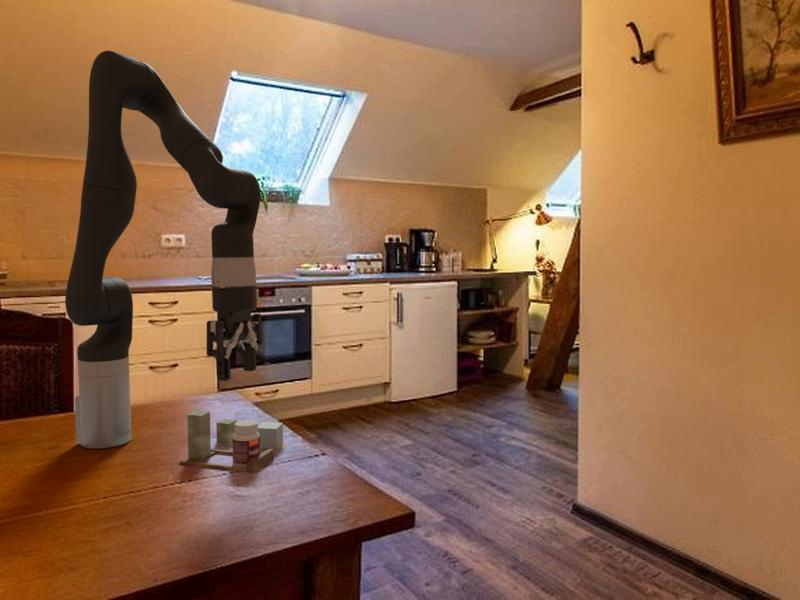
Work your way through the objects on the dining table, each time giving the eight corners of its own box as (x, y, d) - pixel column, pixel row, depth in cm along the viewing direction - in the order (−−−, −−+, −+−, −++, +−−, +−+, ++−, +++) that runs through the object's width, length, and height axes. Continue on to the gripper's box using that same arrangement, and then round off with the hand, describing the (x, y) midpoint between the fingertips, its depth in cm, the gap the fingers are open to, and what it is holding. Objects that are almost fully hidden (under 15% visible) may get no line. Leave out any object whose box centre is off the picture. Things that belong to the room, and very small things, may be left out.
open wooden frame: (179, 467, 107) (178, 418, 106) (204, 454, 114) (203, 407, 114) (252, 476, 103) (252, 425, 102) (273, 461, 110) (273, 413, 110)
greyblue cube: (256, 448, 116) (256, 428, 115) (263, 441, 120) (263, 422, 119) (276, 449, 115) (276, 428, 115) (283, 442, 119) (282, 422, 119)
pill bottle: (253, 474, 105) (252, 427, 104) (228, 472, 106) (227, 425, 105) (264, 465, 110) (264, 420, 109) (240, 463, 110) (239, 418, 110)
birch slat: (214, 447, 119) (213, 423, 118) (224, 442, 122) (223, 418, 122) (281, 455, 115) (280, 429, 114) (289, 449, 118) (289, 424, 118)
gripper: (237, 281, 113) (240, 367, 114) (190, 285, 100) (194, 382, 101) (273, 281, 111) (275, 368, 112) (230, 285, 97) (234, 384, 99)
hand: (237, 375), depth 107 cm, fingers open, 8 cm apart
